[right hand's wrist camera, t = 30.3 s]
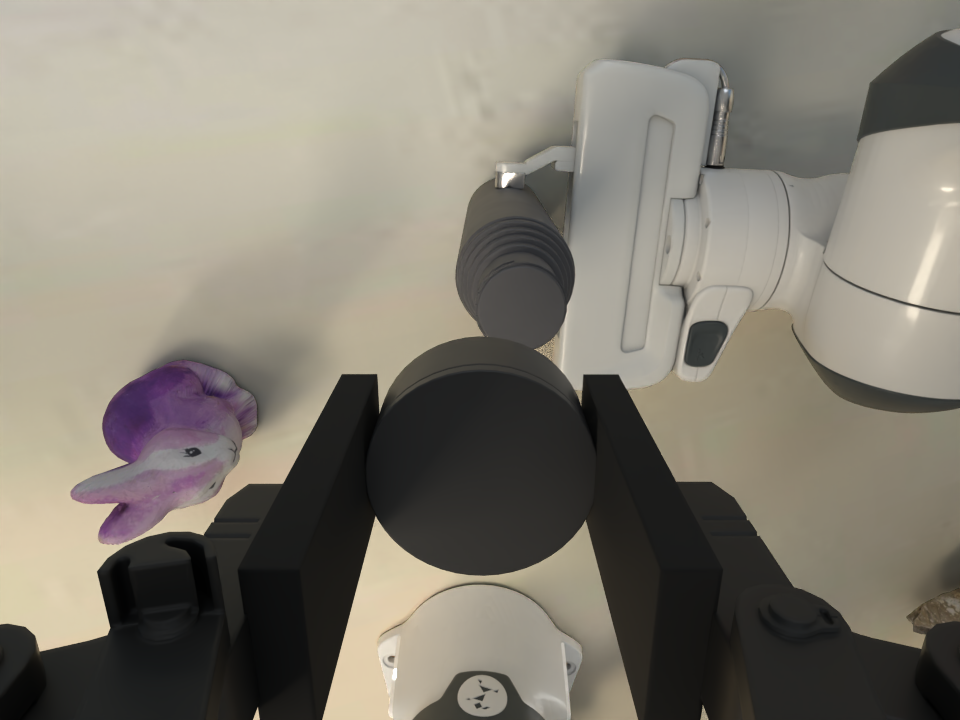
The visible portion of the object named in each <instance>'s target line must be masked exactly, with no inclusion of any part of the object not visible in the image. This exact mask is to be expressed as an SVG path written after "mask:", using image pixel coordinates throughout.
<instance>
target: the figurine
mask: <svg viewBox="0 0 960 720" xmlns="http://www.w3.org/2000/svg"><path fill="white" fill-rule="evenodd" d="M256 427H257V405H256V401H255V399H254V396H253V395H252V394H251V393H250V392H247V391H246V390H244V389H242V388H240V387H238V386H237V385H236V383H235V380H234V379H233V378H232V377H231V376H230V375H229V374H227V373H226V372H223V371H222V370H219V369H215V368H213V367H211V366H207V365H204V364H201V363H196V362H193V361H188V360H179V361H173V362H170V363H167V364H165V365H164V366H162V367H160V368H158V369H155V370H153V371H151V372H149V373H147V374H145V375H144V376H142V377H140V378H138V379H135V380H133V381H131V382H130V383H128V384H127V385H126V386H124V387H123V388H122V389H121V390H119V391H118V392H117V393H116V394H115V395H114V397H113V398H112V400H111V401H110V403H109V405H108V407H107V409H106V412H105V414H104V417H103V423H102V429H103V435H104V438H105V441H106V444H107V445H108V447H109V449H110V450H111V452H112V453H113V454H115V455H116V456H117V457H118V458H120V459H122V460H124V461H126V462H128V463H129V464H126V465H123V466H121V467H118V468H115V469H112V470H109V471H106V472H104V473H101V474H98V475H95V476H92V477H90V478H88V479H86V480H85V481H83V482H81V483H79V484H77V485H76V486H75V487H74V488H73V489H72V490H71V497H72V499H73V500H76V501H78V502H81V503H85V504H105V503H119V504H118V505H117V506H116V507H115V508H114V509H113V511H112V512H111V514H110V515H109V516H108V517H107V518H106V520H105V521H104V523H103V524H102V526H101V527H100V530H99V534H98V540H99V542H100V543H103V544H112V545H114V544H118V545H119V544H121V543H124V542H127V541H129V540H131V539H134V538H136V537H137V536H140V535H142V534H144V533H145V532H146V531H148V530H150V529H151V528H153V527H154V526H155V525H156V524H157V523H159V522H160V521H161V520H162V519H163V518H164V517H165V516H166V514H167V513H168V512H170V511H172V510H174V509H180V508H185V507H188V506H192V505H196V504H200V503H203V502H205V501H207V500H209V499H211V498H212V497H214V496H215V495H216V494H217V493H218V492H219V490H220V489H221V487H222V485H223V482H224V479H225V477H226V475H227V474H228V473H229V472H230V471H231V470H232V469H233V468H234V467H235V466H236V465H237V463H238V461H239V458H240V455H239V453H240V450H241V446H242V440H243V439H245V438H247V437H249V436H251V435H252V433H253V432H254V431H255V430H256Z"/></svg>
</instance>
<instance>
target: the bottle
mask: <svg viewBox="0 0 960 720" xmlns="http://www.w3.org/2000/svg"><path fill="white" fill-rule="evenodd" d="M574 283H575V265H574V260H573V257H572V254H571V251H570V249H569V247H568V245H567V243H566V242H565V240H564V239H563V237H562V236H561V234H560V233H559V231H558V229H557V228H556V226H555V225H554V223H553V222H552V220H551V219H550V217H549V215H548V214H547V212H546V211H545V209H544V208H543V206H542V205H541V203H540V201H539V200H538V198H537V197H536V195H535V194H534V192H533V191H532V190H531V189H530V188H529V187H528V186H527V185H526V184H524V189H515V188H512V187H510V186H509V187H507V188H496V187H495V179H493V180H490V181H488V182H486V183H484V184H483V185H482V186H480V187H479V188H478V189H477V190H476V191H475V193H474V194H473V196H472V197H471V200H470V202H469V205H468V209H467V214H466V219H465V224H464V229H463V234H462V239H461V244H460V250H459V255H458V260H457V265H456V287H457V291H458V294H459V297H460V299H461V301H462V303H463V305H464V307H465V308H466V310H467V311H468V313H469V314H470V315H471V316H472V317H473V318H474V319H475V320H476V321H477V323H478V326H479V329H480V330H481V332H482V333H483V335H484V336H485V337H487V336H488V337H495V338H501V339H507V340H511V341H514V342H517V343H521V344H523V345H525V346H527V347H530V348H532V349H536V348H538V347H541V346H543V345H544V344H546V343H547V342H549V341H550V340H551V339H552V338H553V337H554V336H555V335H556V334H557V333H558V331H559V330H560V328H561V326H562V324H563V323H564V320H565V317H566V313H567V305H568V303H569V301H570V298H571V296H572V293H573V288H574Z"/></svg>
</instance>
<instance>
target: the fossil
mask: <svg viewBox="0 0 960 720" xmlns="http://www.w3.org/2000/svg"><path fill="white" fill-rule="evenodd" d="M907 619H908V620H909V621H910V622H911V623H913V631H914V632H917V633H920V634H926V633H927V632H928V631H929V630H930V629H931V628H932V627H934V626H935V625H936V624H940V623H945V622H951V621H958V622H960V589H956V590H954V591H952V592H949V593H944V594H941V595H940V596H938V597H936V598H934V599H931V600H929V601H927V602H925V603H924V604H922V605H921V606H919V607H918V608H917V609H916V610H914V611H913V612H912V613H911V614H909V615H908V616H907Z"/></svg>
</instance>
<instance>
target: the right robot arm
mask: <svg viewBox="0 0 960 720" xmlns="http://www.w3.org/2000/svg"><path fill="white" fill-rule="evenodd" d="M581 407H582V410H583V413H584V416H585V419H586V422H587V425H588V427H589V430H590V433H591V436H592V439H593V442H594V445H595V448H596V452H597V458H596V474H595V488H594V502H593V505H592V508H591V510H590V512H589V515H588V516H587V518H586V522H587V526H588V529H589V533H590V537H591V541H592V545H593V549H594V552H595V556H596V560H597V564H598V568H599V571H600V575H601V579H602V583H603V587H604V591H605V594H606V598H607V602H608V606H609V610H610V613H611V617H612V621H613V625H614V629H615V633H616V636H617V640H618V644H619V648H620V652H621V655H622V659H623V663H624V667H625V671H626V675H627V678H628V682H629V686H630V690H631V694H632V697H633V701H634V705H635V709H636V713H637V717H638V720H701V713H702V706H704V708H705V711H706V713H707V716H708V719H709V720H960V622H958V621H951V622H945V623H940V624H936V625H935V626H934V627H932V628H931V629H930V630H929V631H928V632H927V633H926V636H925V640H924V643H923V646H922V649H919V648H914V647H910V646H905V645H901V644H896V643H892V642H887V641H883V640H878V639H874V638H870V637H867V636H863V635H860V634H856V633H853V632H851V629H850V627H849V626H848V624H847V623H846V621H845V620H844V618H843V617H842V615H841V614H840V612H838V611H837V610H836V609H834V608H833V607H832V606H831V605H829V604H828V603H827V602H826V601H824V600H823V599H821V598H819V597H817V596H815V595H813V594H811V593H808V592H806V591H804V590H802V589H798V588H794V587H793V586H792V584H791V583H790V581H789V580H788V578H787V577H786V575H785V574H784V572H783V571H782V569H781V568H780V566H779V565H778V563H777V562H776V560H775V559H774V557H773V555H772V554H771V552H770V551H769V549H768V548H767V546H766V545H765V543H764V542H763V540H762V539H761V537H760V536H757V531H756V530H755V528H754V527H753V525H752V524H751V522H750V521H749V520H747V516H746V515H745V513H744V512H743V510H742V509H741V507H740V506H739V504H738V503H737V501H736V500H735V498H734V497H732V496H731V495H729V494H728V493H726V492H725V491H724V490H722V489H721V488H719V487H718V486H717V485H715V484H714V483H712V482H676V481H675V479H674V477H673V475H672V473H671V471H670V469H669V468H668V466H667V464H666V462H665V460H664V458H663V456H662V455H661V453H660V451H659V449H658V447H657V445H656V443H655V441H654V440H653V438H652V436H651V434H650V432H649V430H648V428H647V427H646V425H645V423H644V421H643V419H642V417H641V415H640V414H639V412H638V410H637V408H636V406H635V404H634V402H633V401H632V399H631V397H630V395H629V393H628V391H627V389H626V387H625V386H624V384H623V382H622V380H621V378H620V376H619V374H583V387H582V405H581ZM378 417H379V397H378V380H377V374H342V375H341V377H340V379H339V381H338V383H337V385H336V386H335V388H334V390H333V392H332V394H331V396H330V398H329V399H328V401H327V403H326V405H325V407H324V409H323V411H322V413H321V414H320V416H319V418H318V420H317V422H316V424H315V426H314V427H313V429H312V431H311V433H310V435H309V437H308V439H307V440H306V442H305V444H304V446H303V448H302V450H301V452H300V454H299V455H298V457H297V459H296V461H295V463H294V465H293V467H292V468H291V470H290V472H289V474H288V476H287V478H286V480H285V481H284V483H283V484H248V485H247V486H246V487H244V488H243V489H241V490H240V491H239V492H237V493H236V494H234V495H233V496H232V497H230V498H229V499H227V500H226V502H225V503H224V505H223V506H222V508H221V509H220V511H219V512H218V514H217V515H216V517H215V518H214V522H212V523H211V524H210V526H209V528H208V529H207V531H206V532H205V534H204V535H200V534H196V533H192V532H167V533H163V534H158V535H153V536H149V537H146V538H143V539H141V540H138V541H136V542H134V543H131V544H129V545H127V546H125V547H123V548H122V549H120V550H119V551H117V552H116V553H115V554H113V555H112V556H110V557H109V558H108V559H107V560H106V561H105V562H104V564H103V565H102V566H101V567H100V569H99V570H98V571H97V573H98V578H99V582H100V586H101V590H102V594H103V599H104V603H105V607H106V611H107V615H108V619H109V624H110V631H109V633H108V635H107V636H103V637H100V638H97V639H93V640H90V641H86V642H81V643H77V644H72V645H68V646H63V647H59V648H54V649H50V650H46V651H41V652H40V651H39V648H38V644H37V641H36V637H35V635H34V634H32V633H31V632H30V631H29V630H28V629H27V628H26V627H23V626H17V625H12V624H1V625H0V720H253V718H254V715H255V713H256V710H257V707H258V710H259V717H260V720H322V718H323V714H324V711H325V707H326V703H327V699H328V695H329V691H330V688H331V684H332V680H333V676H334V672H335V669H336V665H337V661H338V657H339V653H340V649H341V646H342V642H343V638H344V634H345V630H346V627H347V623H348V619H349V615H350V611H351V607H352V604H353V600H354V596H355V592H356V588H357V585H358V581H359V577H360V573H361V569H362V565H363V562H364V558H365V554H366V550H367V546H368V543H369V539H370V535H371V531H372V527H373V523H374V520H375V516H376V515H375V513H374V511H373V509H372V507H371V504H370V500H369V497H368V494H367V489H366V480H365V463H366V455H367V451H368V448H369V444H370V441H371V438H372V435H373V432H374V429H375V426H376V423H377V420H378Z"/></svg>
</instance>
